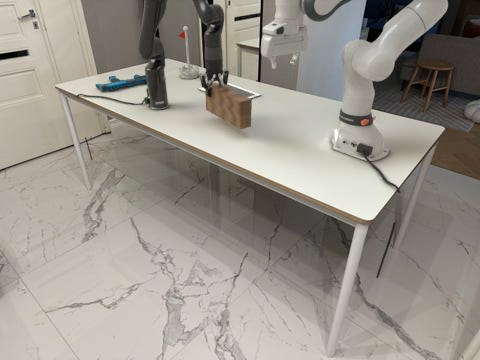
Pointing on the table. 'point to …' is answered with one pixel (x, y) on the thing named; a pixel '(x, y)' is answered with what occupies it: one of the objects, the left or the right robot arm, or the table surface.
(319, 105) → the table surface
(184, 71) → the flag stand
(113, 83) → the submachine gun
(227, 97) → the box
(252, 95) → the tablet
